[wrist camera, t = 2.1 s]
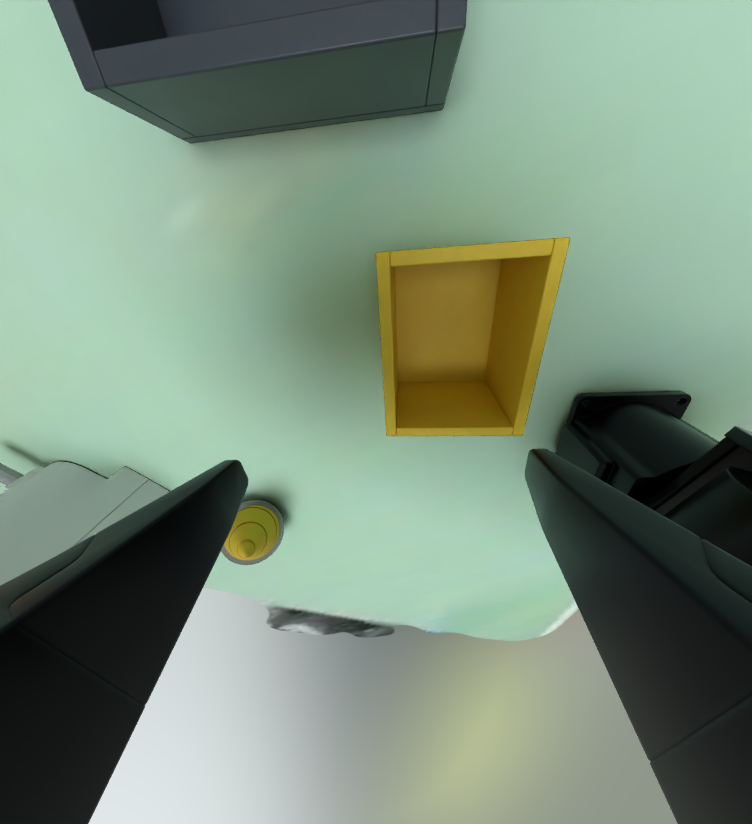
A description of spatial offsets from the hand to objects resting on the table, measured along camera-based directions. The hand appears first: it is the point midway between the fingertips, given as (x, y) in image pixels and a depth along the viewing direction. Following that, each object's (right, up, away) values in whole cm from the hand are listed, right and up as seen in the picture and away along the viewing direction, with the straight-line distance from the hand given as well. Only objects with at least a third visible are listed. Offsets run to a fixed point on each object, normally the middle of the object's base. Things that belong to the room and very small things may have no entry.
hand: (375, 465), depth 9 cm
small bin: (+4, +7, +8) cm, 11 cm away
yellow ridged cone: (-11, -7, +18) cm, 22 cm away
